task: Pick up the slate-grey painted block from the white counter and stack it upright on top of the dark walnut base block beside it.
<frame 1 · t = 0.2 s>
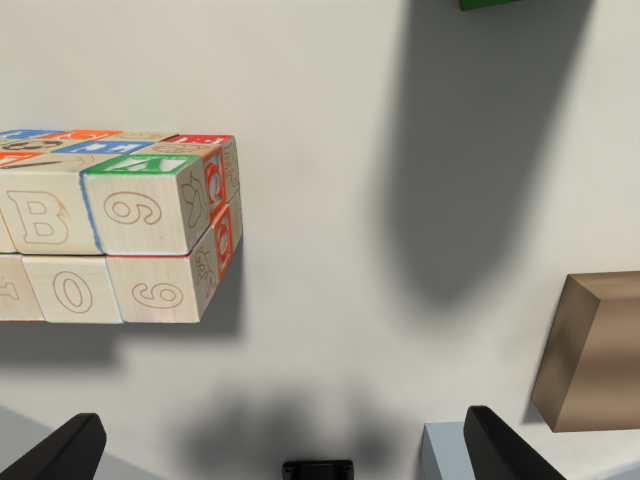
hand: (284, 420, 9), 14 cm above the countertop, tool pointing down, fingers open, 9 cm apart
walnut base: (627, 339, 26), on the countertop
grey block: (450, 440, 31), on the countertop
stack of blocks: (63, 180, 21), on the countertop
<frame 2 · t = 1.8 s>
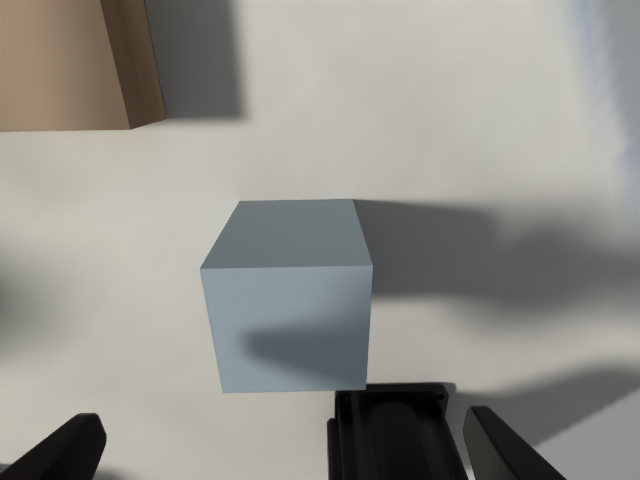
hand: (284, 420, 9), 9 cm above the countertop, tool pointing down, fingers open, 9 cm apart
grey block: (298, 249, 17), on the countertop
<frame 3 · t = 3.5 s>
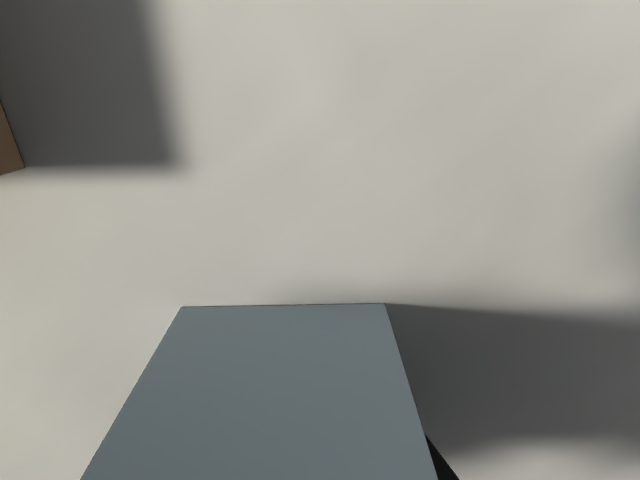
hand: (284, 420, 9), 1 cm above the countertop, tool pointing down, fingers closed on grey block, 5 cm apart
grey block: (288, 380, 10), on the countertop, touching gripper
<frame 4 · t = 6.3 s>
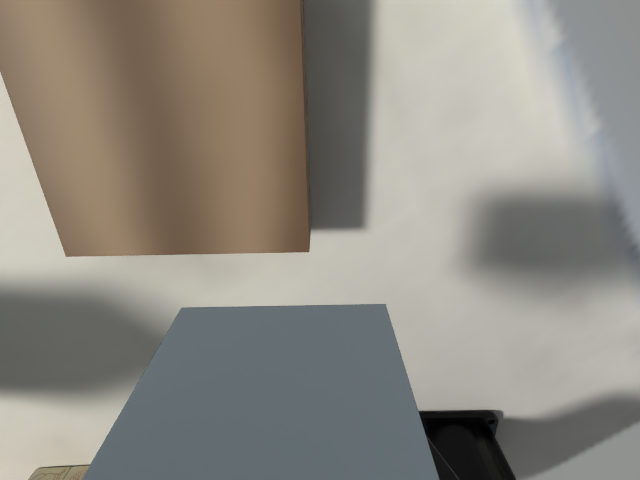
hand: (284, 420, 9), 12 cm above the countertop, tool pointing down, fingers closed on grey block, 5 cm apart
walnut base: (187, 120, 17), on the countertop
grey block: (288, 380, 10), point 11 cm above the countertop, touching gripper
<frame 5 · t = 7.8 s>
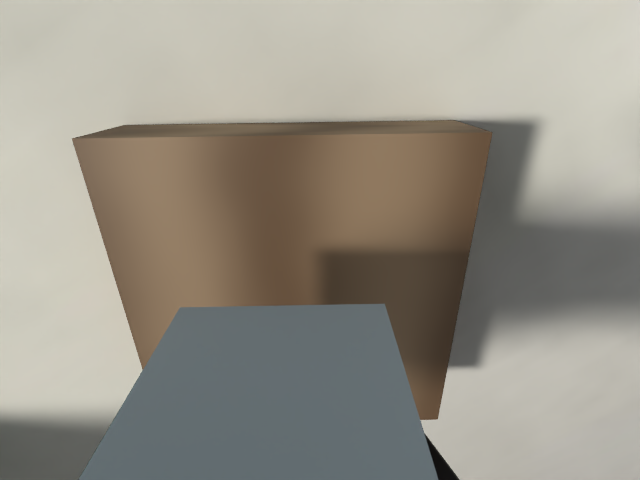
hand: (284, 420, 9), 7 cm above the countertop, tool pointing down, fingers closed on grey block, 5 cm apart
walnut base: (296, 266, 15), on the countertop
grey block: (287, 380, 10), point 6 cm above the countertop, touching gripper
when the fingers open (6 cm above the countertop, at t = 8.9 s): grey block drops 1 cm, resting on walnut base.
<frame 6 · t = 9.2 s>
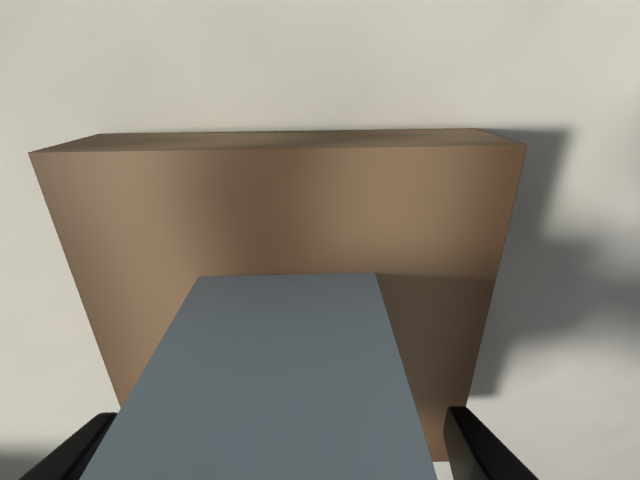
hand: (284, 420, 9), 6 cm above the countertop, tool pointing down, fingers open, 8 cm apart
walnut base: (295, 290, 14), on the countertop
grey block: (291, 343, 11), point 3 cm above the countertop, touching walnut base
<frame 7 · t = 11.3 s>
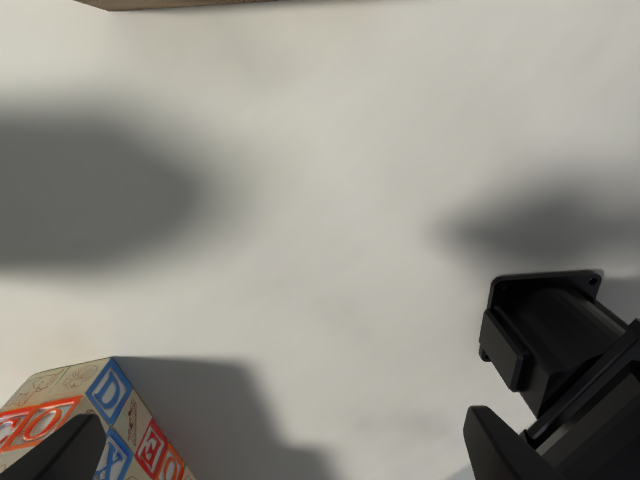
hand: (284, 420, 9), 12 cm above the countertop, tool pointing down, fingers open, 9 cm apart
stack of blocks: (144, 455, 28), on the countertop
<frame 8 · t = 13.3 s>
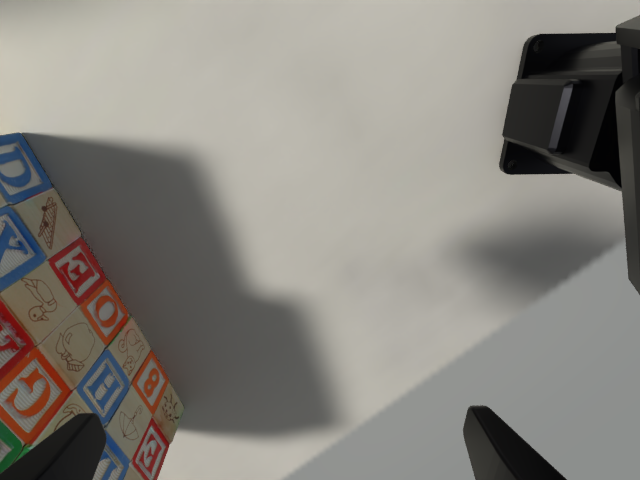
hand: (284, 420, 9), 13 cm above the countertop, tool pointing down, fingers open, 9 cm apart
stack of blocks: (80, 304, 23), on the countertop
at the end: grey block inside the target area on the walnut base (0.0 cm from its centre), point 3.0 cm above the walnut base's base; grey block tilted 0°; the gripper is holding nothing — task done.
